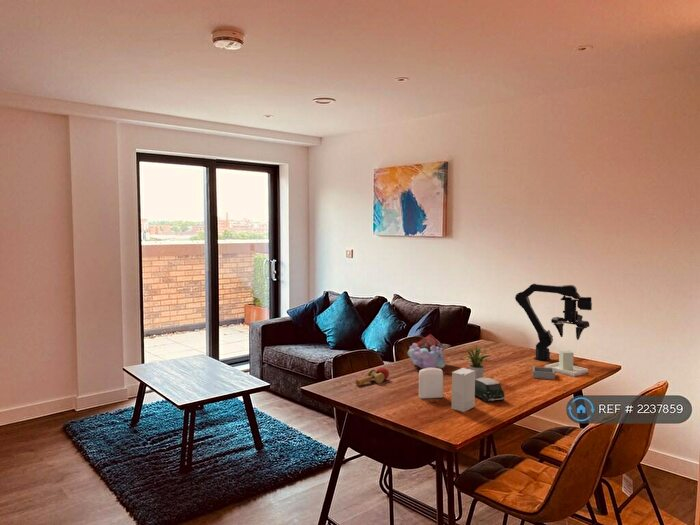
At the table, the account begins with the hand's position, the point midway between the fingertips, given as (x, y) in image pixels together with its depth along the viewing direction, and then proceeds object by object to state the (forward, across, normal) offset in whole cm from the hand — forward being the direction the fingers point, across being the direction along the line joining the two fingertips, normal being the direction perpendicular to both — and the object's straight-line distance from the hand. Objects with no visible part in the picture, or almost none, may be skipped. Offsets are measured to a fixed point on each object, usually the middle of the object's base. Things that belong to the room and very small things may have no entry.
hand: (569, 338), depth 268 cm
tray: (+13, -9, +17) cm, 23 cm away
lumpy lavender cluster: (+13, +36, +68) cm, 78 cm away
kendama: (+13, +29, +108) cm, 113 cm away
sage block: (+12, -9, +17) cm, 23 cm away
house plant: (+13, +6, +66) cm, 68 cm away
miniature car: (+14, -13, +82) cm, 84 cm away
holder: (+13, -8, +34) cm, 37 cm away
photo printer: (+13, -1, +101) cm, 102 cm away
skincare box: (+13, -18, +100) cm, 102 cm away
